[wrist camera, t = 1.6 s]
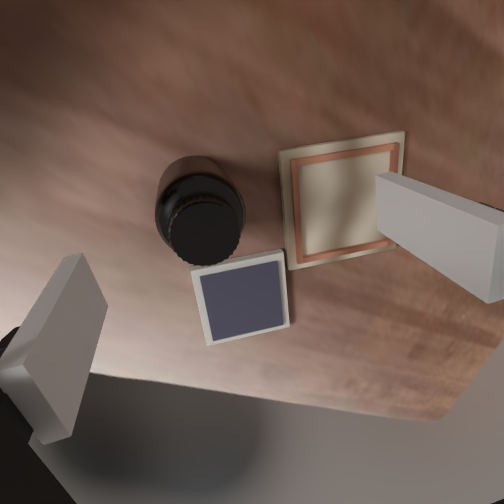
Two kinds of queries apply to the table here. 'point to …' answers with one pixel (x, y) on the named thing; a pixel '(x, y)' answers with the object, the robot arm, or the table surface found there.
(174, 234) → the supplement bottle
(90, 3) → the table surface
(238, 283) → the ink pad
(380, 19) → the table surface
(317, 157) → the board
